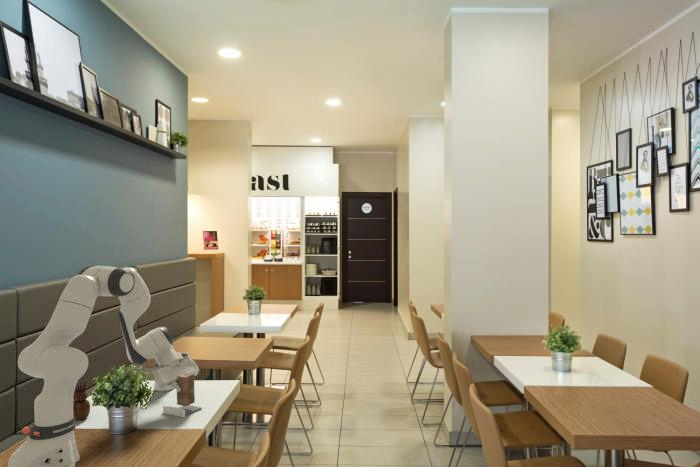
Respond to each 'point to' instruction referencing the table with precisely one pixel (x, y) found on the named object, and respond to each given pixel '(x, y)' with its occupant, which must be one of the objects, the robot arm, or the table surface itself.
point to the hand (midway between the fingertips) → (186, 388)
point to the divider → (174, 411)
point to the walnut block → (186, 389)
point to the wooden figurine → (81, 403)
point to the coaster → (190, 409)
